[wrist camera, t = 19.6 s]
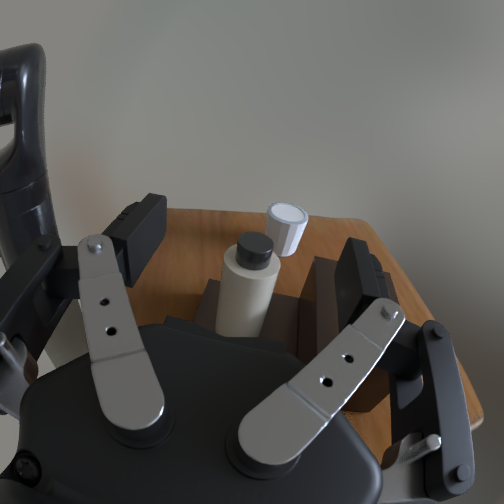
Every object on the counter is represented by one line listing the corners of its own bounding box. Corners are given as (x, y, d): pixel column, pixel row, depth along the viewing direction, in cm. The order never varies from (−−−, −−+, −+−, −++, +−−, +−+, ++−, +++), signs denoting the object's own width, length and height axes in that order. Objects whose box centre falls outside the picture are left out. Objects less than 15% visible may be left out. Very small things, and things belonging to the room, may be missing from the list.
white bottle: (209, 340, 31) (220, 252, 24) (220, 306, 36) (233, 220, 28) (257, 351, 31) (283, 266, 24) (263, 316, 35) (287, 232, 28)
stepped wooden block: (177, 381, 30) (174, 324, 24) (207, 294, 41) (213, 233, 35) (369, 412, 29) (415, 366, 23) (359, 325, 41) (389, 272, 35)
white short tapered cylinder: (270, 261, 49) (279, 226, 45) (253, 237, 54) (260, 203, 50) (305, 255, 52) (316, 221, 48) (287, 232, 57) (295, 200, 52)
